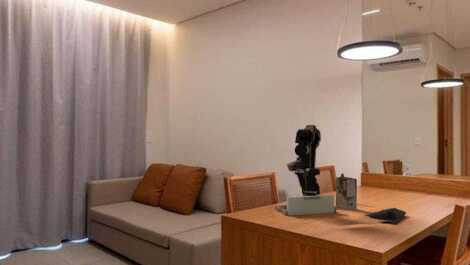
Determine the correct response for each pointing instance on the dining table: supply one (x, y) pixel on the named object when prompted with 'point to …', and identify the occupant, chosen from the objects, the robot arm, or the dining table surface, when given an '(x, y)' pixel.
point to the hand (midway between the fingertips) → (304, 188)
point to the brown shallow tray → (284, 211)
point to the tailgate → (310, 204)
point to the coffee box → (346, 193)
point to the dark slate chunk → (388, 215)
